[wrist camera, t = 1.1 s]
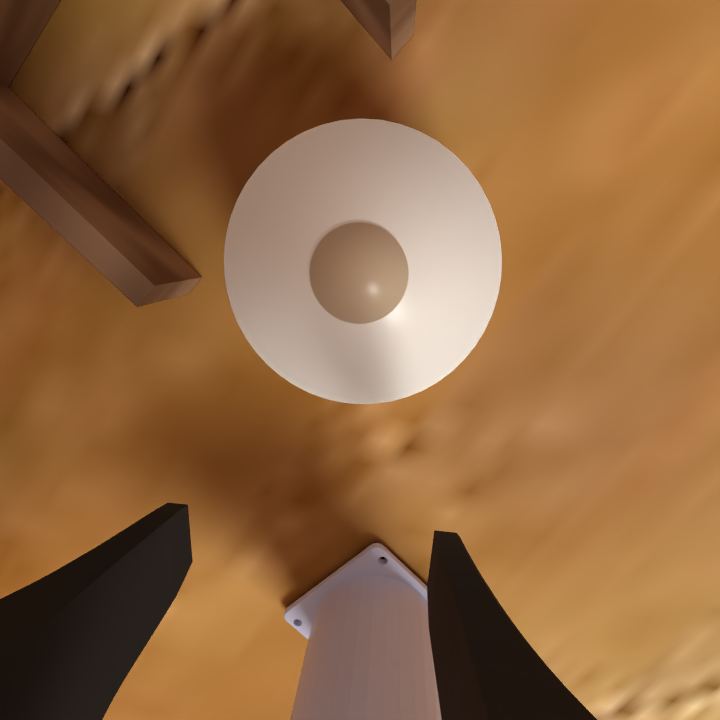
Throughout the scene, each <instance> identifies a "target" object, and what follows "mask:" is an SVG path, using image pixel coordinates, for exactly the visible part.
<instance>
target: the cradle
mask: <svg viewBox="0 0 720 720" xmlns="http://www.w3.org/2000/svg"><path fill="white" fill-rule="evenodd" d="M341 1H342V2H343V3H344V4H345V6H346V7H347V8H348V9H349V10H350V11H351V13H352V14H353V15H354V16H355V17H356V19H357V20H358V21H359V22H360V23H361V24H362V26H363V27H364V28H365V29H366V30H367V32H368V33H369V34H370V35H371V36H372V37H373V39H374V40H375V41H376V42H377V43H378V44H379V46H380V47H381V48H382V49H383V50H384V52H385V53H386V54H387V55H388V56H389V57H390V59H391V60H392V59H393V58H394V57H395V56H396V54H397V53H398V52H399V51H400V50H401V49H402V48H403V46H404V45H405V44H406V43H407V42H408V41H409V40H410V38H411V37H412V36H413V35H414V25H415V12H416V0H341ZM59 2H60V0H0V179H1V180H2V181H4V182H5V183H6V184H7V185H8V186H9V187H10V188H11V189H12V190H13V191H14V192H15V193H16V194H17V195H18V196H20V197H21V198H22V199H23V200H24V201H25V202H26V203H27V204H28V205H29V206H30V207H31V208H32V209H33V210H34V211H36V212H37V213H38V214H39V215H40V216H41V217H42V218H43V219H44V220H45V221H46V222H47V223H48V224H49V225H50V226H51V227H53V228H54V229H55V230H56V231H57V232H58V233H59V234H60V235H61V236H62V237H63V238H64V239H65V240H66V241H67V242H69V243H70V244H71V245H72V246H73V247H74V248H75V249H76V250H77V251H78V252H79V253H80V254H81V255H82V256H83V257H85V258H86V259H87V260H88V261H89V262H90V263H91V264H92V265H93V266H94V267H95V268H96V269H97V270H98V271H99V272H100V273H102V274H103V275H104V276H105V277H106V278H107V279H108V280H109V281H110V282H111V283H112V284H113V285H114V286H115V287H116V288H118V289H119V290H120V291H121V292H122V293H123V294H124V295H125V296H126V297H127V298H128V299H129V300H130V301H131V302H132V303H133V304H135V305H136V306H137V307H139V306H143V305H147V304H151V303H155V302H159V301H163V300H167V299H171V298H175V297H179V296H183V295H187V294H188V293H189V292H190V291H191V289H192V288H193V287H194V286H195V285H196V284H197V283H198V281H199V280H200V279H201V278H202V277H201V276H200V275H199V274H198V273H197V272H196V271H195V270H194V269H193V268H192V267H191V266H190V265H189V264H188V263H187V262H186V261H185V260H184V259H183V258H182V257H181V256H180V255H179V254H178V253H177V252H176V251H175V250H174V249H173V248H172V247H171V246H169V245H168V244H167V243H166V242H165V241H164V240H163V239H162V238H161V237H160V236H159V235H158V234H157V233H156V232H155V231H154V230H153V229H152V228H151V227H150V226H149V225H148V224H147V223H146V222H145V221H144V220H143V219H142V218H141V217H140V216H139V215H138V214H137V213H136V212H135V211H134V210H133V209H132V208H131V207H130V206H129V205H128V204H127V203H126V202H125V201H124V200H123V199H122V198H121V197H119V196H118V195H117V194H116V193H115V192H114V191H113V190H112V189H111V188H110V187H109V186H108V185H107V184H106V183H105V182H104V181H103V180H102V179H101V178H100V177H99V176H98V175H97V174H96V173H95V172H94V171H93V170H92V169H91V168H90V167H89V166H88V165H87V164H86V163H85V162H84V161H83V160H82V159H81V158H80V157H79V156H78V155H77V154H76V153H75V152H74V151H73V150H72V149H70V148H69V147H68V146H67V145H66V144H65V143H64V142H63V141H62V140H61V139H60V138H59V137H58V136H57V135H56V134H55V133H54V132H53V131H52V130H51V129H50V128H49V127H48V126H47V125H46V124H45V123H44V122H43V121H42V120H41V119H40V118H39V117H38V116H37V115H36V114H35V113H34V112H33V111H32V110H31V109H30V108H29V107H28V106H27V105H26V104H25V103H24V102H23V101H22V100H20V99H19V98H18V97H17V96H16V95H15V94H14V93H13V92H12V91H11V90H10V89H9V88H8V87H9V85H10V84H11V82H12V80H13V79H14V77H15V75H16V74H17V72H18V70H19V69H20V67H21V65H22V64H23V62H24V60H25V59H26V57H27V55H28V54H29V52H30V50H31V49H32V47H33V45H34V44H35V42H36V40H37V39H38V37H39V35H40V34H41V32H42V30H43V29H44V27H45V25H46V24H47V22H48V20H49V19H50V17H51V15H52V14H53V12H54V10H55V9H56V7H57V5H58V4H59Z"/></svg>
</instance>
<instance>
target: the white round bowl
mask: <svg viewBox="0 0 720 720" xmlns="http://www.w3.org/2000/svg"><path fill="white" fill-rule="evenodd" d="M501 267H502V254H501V243H500V236H499V232H498V228H497V223H496V219H495V217H494V214H493V211H492V209H491V206H490V203H489V201H488V199H487V197H486V195H485V193H484V192H483V190H482V188H481V186H480V184H479V183H478V181H477V180H476V179H475V177H474V176H473V175H472V173H471V172H470V170H469V169H468V168H467V167H466V166H465V165H464V164H463V163H462V162H461V161H460V160H459V159H458V157H457V156H456V155H455V154H454V153H452V152H451V151H450V150H448V149H447V148H446V147H445V146H443V145H442V144H441V143H439V142H438V141H436V140H435V139H433V138H431V137H429V136H427V135H426V134H424V133H422V132H420V131H418V130H415V129H413V128H410V127H407V126H405V125H402V124H398V123H394V122H389V121H385V120H378V119H362V118H360V119H348V120H339V121H335V122H331V123H326V124H322V125H319V126H317V127H314V128H312V129H309V130H307V131H304V132H302V133H301V134H299V135H297V136H295V137H294V138H292V139H290V140H288V141H287V142H285V143H284V144H283V145H281V146H280V147H279V148H277V149H276V150H275V151H274V152H272V153H271V154H270V155H269V156H268V157H267V158H266V159H265V160H264V161H263V162H262V163H261V164H260V165H259V166H258V168H257V169H256V170H255V172H254V173H253V174H252V176H251V177H250V178H249V180H248V181H247V182H246V184H245V186H244V188H243V190H242V192H241V193H240V195H239V197H238V199H237V201H236V204H235V206H234V209H233V212H232V214H231V217H230V221H229V225H228V229H227V233H226V239H225V248H224V274H225V282H226V289H227V293H228V297H229V301H230V304H231V308H232V310H233V313H234V315H235V318H236V320H237V323H238V325H239V326H240V328H241V330H242V332H243V334H244V336H245V337H246V339H247V340H248V342H249V343H250V345H251V346H252V347H253V349H254V350H255V352H256V353H257V354H258V355H259V356H260V357H261V358H262V359H263V361H264V362H265V363H266V364H267V365H268V366H269V367H270V368H272V369H273V370H274V371H275V372H276V373H277V374H279V375H280V376H281V377H283V378H284V379H286V380H287V381H289V382H290V383H292V384H293V385H295V386H297V387H299V388H301V389H302V390H304V391H306V392H308V393H311V394H314V395H316V396H319V397H322V398H325V399H329V400H333V401H337V402H343V403H352V404H376V403H383V402H390V401H394V400H398V399H401V398H405V397H408V396H411V395H413V394H415V393H418V392H420V391H423V390H424V389H426V388H428V387H430V386H432V385H433V384H435V383H437V382H438V381H440V380H441V379H442V378H444V377H445V376H446V375H448V374H449V373H451V372H452V371H453V370H454V369H455V368H456V367H457V366H458V365H459V364H460V363H461V362H462V361H463V360H464V359H465V358H466V357H467V355H468V354H469V353H470V352H471V351H472V349H473V348H474V347H475V345H476V344H477V342H478V341H479V339H480V337H481V336H482V334H483V333H484V331H485V329H486V327H487V325H488V322H489V320H490V318H491V316H492V313H493V310H494V307H495V304H496V300H497V297H498V292H499V287H500V281H501Z"/></svg>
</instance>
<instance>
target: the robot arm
mask: <svg viewBox="0 0 720 720" xmlns="http://www.w3.org/2000/svg"><path fill="white" fill-rule="evenodd" d="M380 557H385V558H387V559H381V558H380ZM191 563H192V551H191V539H190V526H189V514H188V505H185V504H175V503H167V504H165V505H163V506H161V507H160V508H158V509H156V510H155V511H153V512H151V513H150V514H148V515H147V516H145V517H143V518H142V519H140V520H139V521H137V522H136V523H134V524H133V525H131V526H129V527H128V528H126V529H125V530H123V531H121V532H120V533H118V534H117V535H115V536H113V537H112V538H110V539H109V540H107V541H105V542H104V543H102V544H101V545H99V546H97V547H96V548H94V549H92V550H91V551H89V552H87V553H85V554H84V555H82V556H80V557H79V558H77V559H75V560H73V561H72V562H70V563H68V564H67V565H65V566H63V567H61V568H60V569H58V570H56V571H54V572H53V573H51V574H49V575H47V576H45V577H43V578H41V579H40V580H38V581H36V582H34V583H32V584H30V585H28V586H26V587H24V588H22V589H20V590H18V591H16V592H14V593H12V594H10V595H8V596H6V597H4V598H1V599H0V720H102V719H103V717H104V715H105V713H106V711H107V709H108V707H109V705H110V704H111V702H112V700H113V698H114V696H115V695H116V693H117V691H118V689H119V688H120V686H121V684H122V682H123V681H124V679H125V677H126V676H127V674H128V673H129V671H130V669H131V668H132V666H133V665H134V663H135V662H136V660H137V658H138V657H139V655H140V654H141V652H142V650H143V649H144V647H145V646H146V644H147V642H148V641H149V639H150V638H151V636H152V634H153V633H154V631H155V630H156V628H157V627H158V625H159V623H160V622H161V620H162V618H163V617H164V615H165V614H166V612H167V610H168V609H169V607H170V605H171V604H172V602H173V600H174V599H175V597H176V595H177V593H178V591H179V589H180V587H181V585H182V583H183V581H184V579H185V577H186V574H187V572H188V570H189V568H190V566H191ZM284 619H285V620H286V621H287V622H288V623H289V624H291V625H292V626H293V627H294V628H295V629H296V630H298V631H299V632H300V633H301V634H302V635H303V636H305V637H306V638H307V639H308V644H307V648H306V652H305V657H304V661H303V666H302V670H301V675H300V679H299V683H298V688H297V692H296V697H295V701H294V706H293V710H292V714H291V719H290V720H597V719H596V718H595V717H594V716H593V715H592V714H591V713H590V712H589V711H588V710H587V709H586V708H585V707H584V706H583V705H582V704H581V703H580V702H579V701H578V699H577V698H576V697H575V696H574V695H573V694H572V693H571V692H570V691H569V690H568V689H567V688H566V687H565V686H564V685H563V684H562V682H561V681H560V680H559V679H558V678H557V677H556V676H555V675H554V673H553V672H552V671H551V670H550V669H549V668H548V667H547V665H546V664H545V663H544V662H543V660H542V659H541V658H540V657H539V656H538V654H537V653H536V652H535V651H534V650H533V648H532V647H531V646H530V645H529V643H528V642H527V641H526V639H525V638H524V637H523V635H522V634H521V633H520V632H519V630H518V629H517V627H516V626H515V625H514V623H513V622H512V621H511V619H510V618H509V616H508V615H507V614H506V612H505V611H504V609H503V608H502V606H501V605H500V604H499V602H498V601H497V599H496V598H495V596H494V594H493V593H492V591H491V590H490V588H489V587H488V585H487V584H486V582H485V581H484V579H483V577H482V576H481V574H480V572H479V571H478V569H477V567H476V566H475V564H474V562H473V560H472V559H471V557H470V555H469V553H468V552H467V550H466V548H465V546H464V544H463V542H462V540H461V538H460V537H459V535H458V534H457V533H453V532H443V531H434V538H433V546H432V554H431V562H430V570H429V577H428V585H427V586H426V585H425V584H424V583H423V582H422V581H421V580H420V579H419V578H418V577H417V576H416V575H414V574H413V573H412V572H411V571H410V570H409V569H408V568H407V567H406V566H405V565H404V564H403V563H402V562H401V561H399V560H398V559H397V558H396V557H395V556H394V555H393V554H392V553H391V552H390V551H389V550H388V549H387V548H386V547H385V546H383V545H382V544H380V543H373V544H371V545H370V546H369V547H367V548H366V549H365V550H363V551H362V552H360V553H359V554H358V555H356V556H355V557H354V558H352V559H351V560H350V561H348V562H347V563H346V564H344V565H343V566H342V567H340V568H339V569H338V570H336V571H335V572H334V573H332V574H331V575H330V576H328V577H327V578H326V579H324V580H323V581H322V582H320V583H319V584H318V585H316V586H315V587H314V588H312V589H311V590H310V591H308V592H307V593H306V594H304V595H303V596H302V597H300V598H299V599H298V600H296V601H295V602H294V603H292V604H291V605H290V606H288V607H287V608H286V609H285V613H284ZM297 619H299V620H297Z"/></svg>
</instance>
